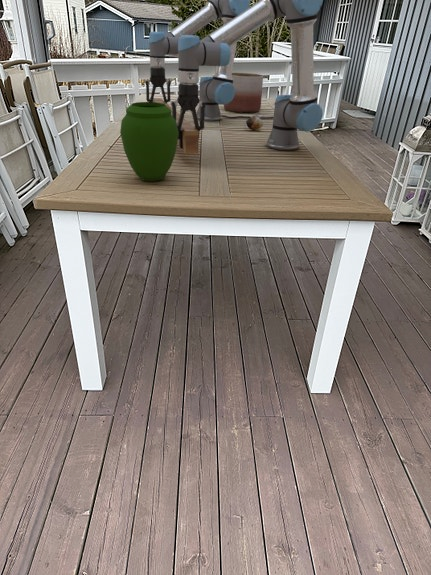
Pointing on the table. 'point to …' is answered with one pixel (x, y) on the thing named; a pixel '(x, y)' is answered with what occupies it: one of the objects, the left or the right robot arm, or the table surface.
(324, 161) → the table surface
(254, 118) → the seashell
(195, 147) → the beam
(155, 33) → the left robot arm
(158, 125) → the vase
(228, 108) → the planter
